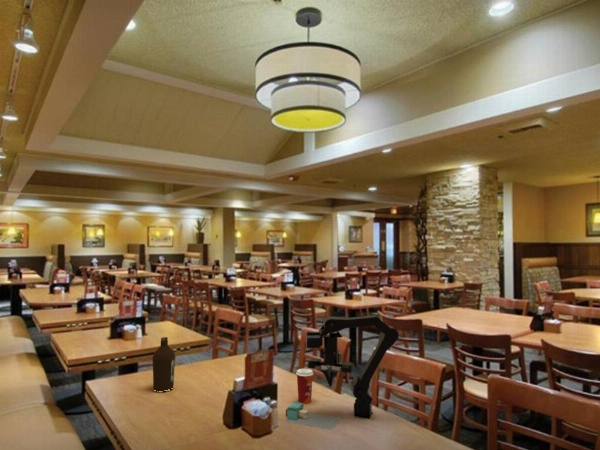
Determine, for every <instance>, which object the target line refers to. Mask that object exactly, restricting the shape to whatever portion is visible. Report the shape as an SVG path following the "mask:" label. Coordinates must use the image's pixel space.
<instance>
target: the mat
mask: <svg viewBox="0 0 600 450" xmlns="http://www.w3.org/2000/svg"><path fill="white" fill-rule="evenodd" d="M342 419H343V418H342V417H337V416H332V415H326V414H321V413H314V412H309V417H308V418H307V419H306V420H305V419H299V418H298V419H297V420H292V419H287V418H286V419H285V420H284V422H286V423H293V424H297V425H301V426H302V425H303V426H308V427H314V428H318V429H319V428H320V429H326V430H331V431H332V430H334V428H335V427H336V426H337V425H338V424H339V423H340V421H341V420H342Z"/></svg>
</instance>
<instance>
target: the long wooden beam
mask: <svg viewBox="0 0 600 450" xmlns="http://www.w3.org/2000/svg"><path fill="white" fill-rule="evenodd" d="M309 413H310V412H309V410H307V409H303V410H301V409H299V410H298V418H299V419H305V420H306V419H307V418H308V417H309ZM285 417H287V408H286V409H285Z"/></svg>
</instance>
